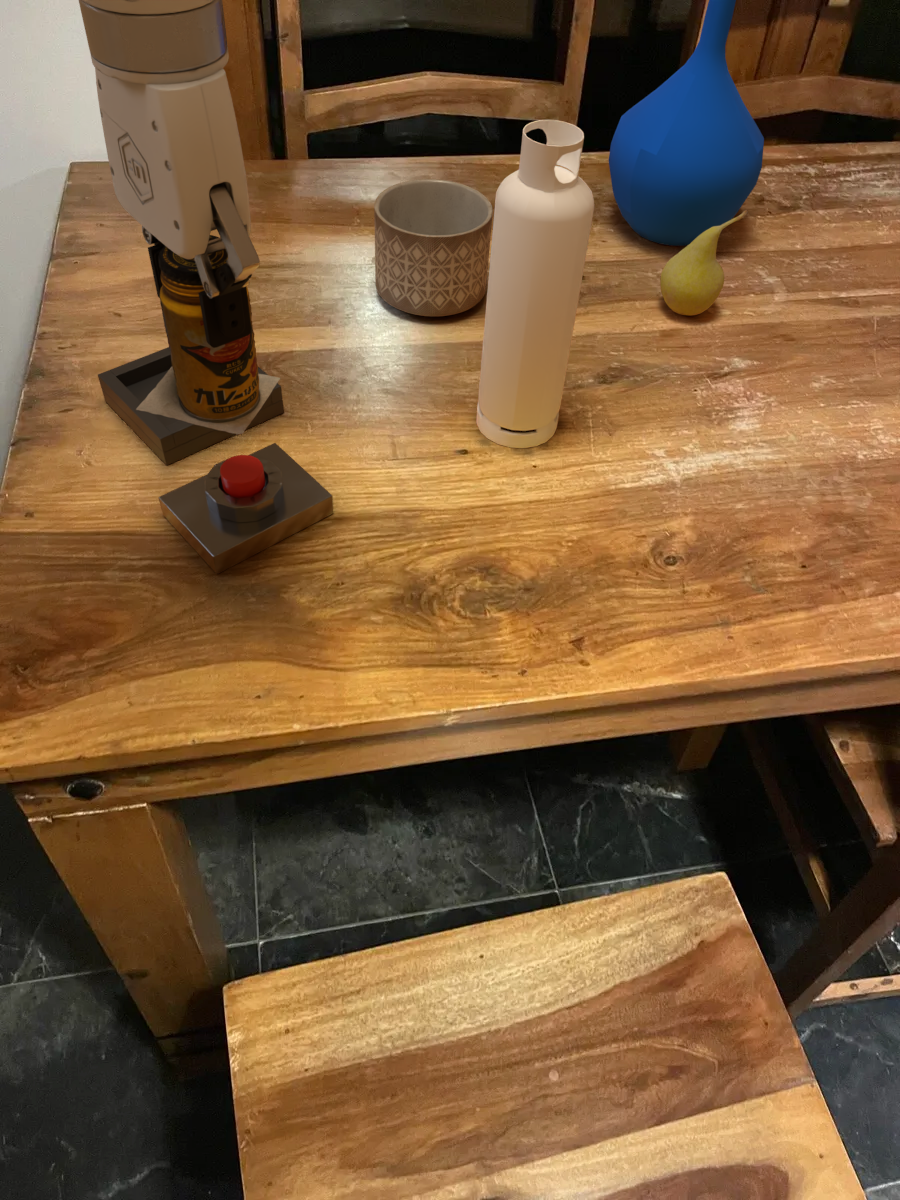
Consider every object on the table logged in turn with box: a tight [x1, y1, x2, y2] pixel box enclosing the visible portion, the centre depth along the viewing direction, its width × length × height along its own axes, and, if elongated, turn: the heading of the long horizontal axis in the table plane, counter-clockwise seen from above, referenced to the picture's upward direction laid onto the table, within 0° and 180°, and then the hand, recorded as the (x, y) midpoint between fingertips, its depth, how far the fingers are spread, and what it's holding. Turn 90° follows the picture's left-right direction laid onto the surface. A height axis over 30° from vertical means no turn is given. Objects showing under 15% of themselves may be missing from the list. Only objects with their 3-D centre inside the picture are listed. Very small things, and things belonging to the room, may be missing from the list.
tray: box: [97, 346, 285, 466], centre depth 91 cm, size 13×12×3 cm
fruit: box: [659, 209, 749, 316], centre depth 103 cm, size 7×8×12 cm
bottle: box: [475, 119, 595, 449], centre depth 82 cm, size 8×8×28 cm
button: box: [220, 454, 265, 498], centre depth 79 cm, size 4×4×2 cm
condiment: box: [136, 234, 281, 435], centre depth 66 cm, size 7×8×12 cm
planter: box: [373, 178, 494, 317], centre depth 104 cm, size 13×13×10 cm
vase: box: [608, 0, 765, 247], centre depth 109 cm, size 18×18×30 cm
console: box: [158, 442, 334, 575], centre depth 81 cm, size 12×9×4 cm
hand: (204, 314), depth 65 cm, fingers closed on condiment, 6 cm apart
